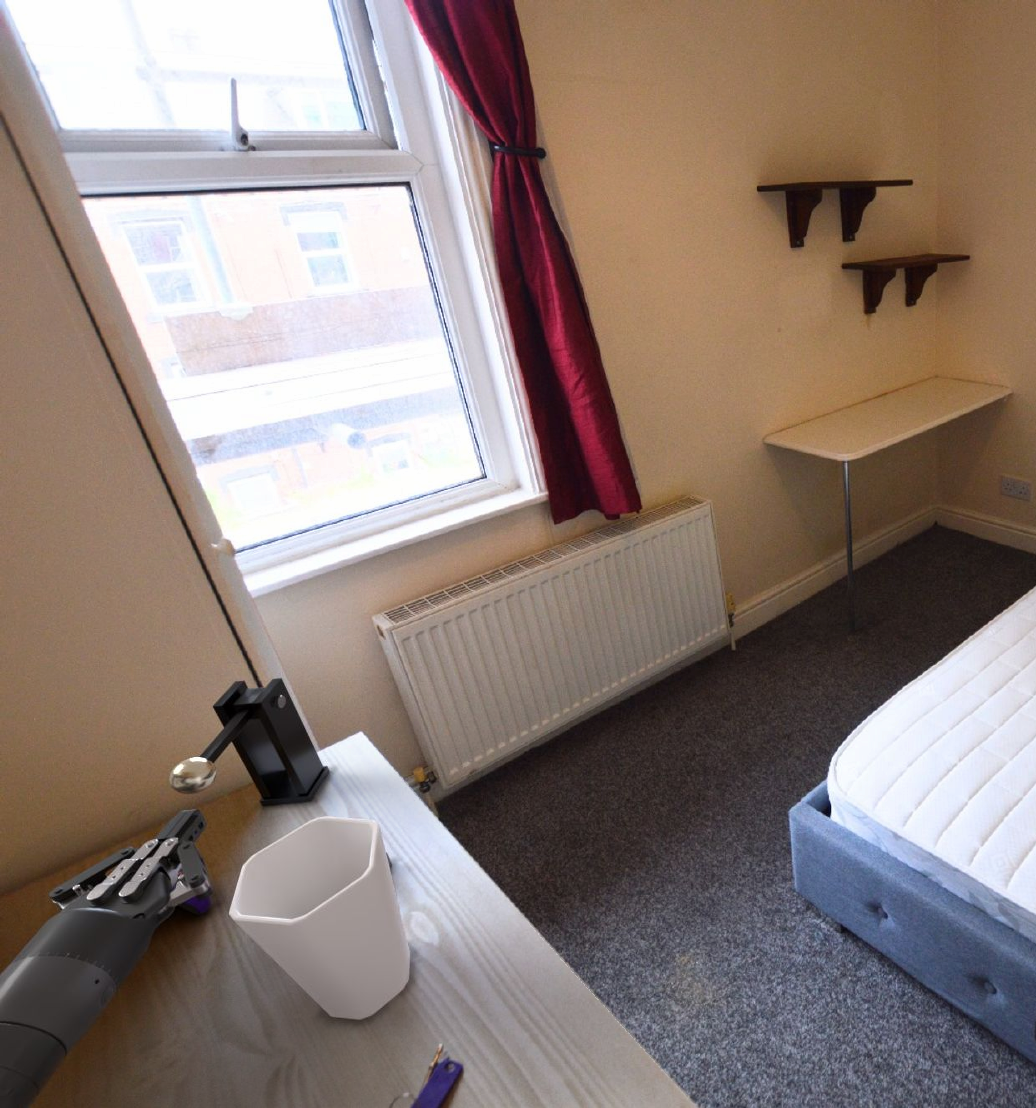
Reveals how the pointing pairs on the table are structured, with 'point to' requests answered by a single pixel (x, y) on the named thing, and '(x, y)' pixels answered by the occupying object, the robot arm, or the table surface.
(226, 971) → the table surface
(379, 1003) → the cup
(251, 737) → the bracket
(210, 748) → the lever
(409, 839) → the table surface
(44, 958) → the robot arm
